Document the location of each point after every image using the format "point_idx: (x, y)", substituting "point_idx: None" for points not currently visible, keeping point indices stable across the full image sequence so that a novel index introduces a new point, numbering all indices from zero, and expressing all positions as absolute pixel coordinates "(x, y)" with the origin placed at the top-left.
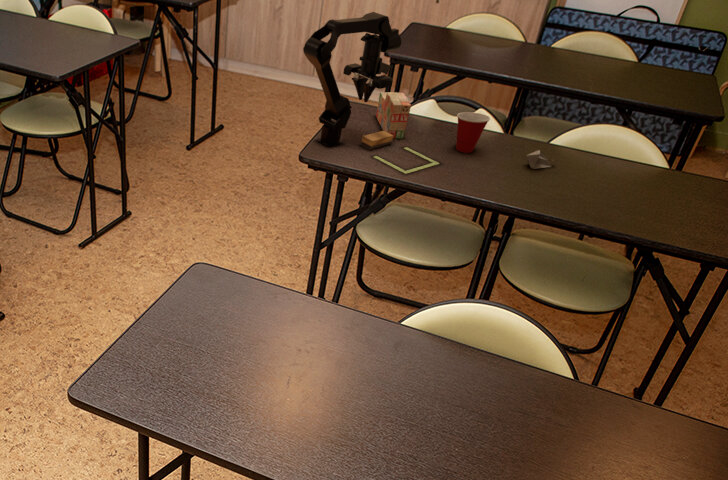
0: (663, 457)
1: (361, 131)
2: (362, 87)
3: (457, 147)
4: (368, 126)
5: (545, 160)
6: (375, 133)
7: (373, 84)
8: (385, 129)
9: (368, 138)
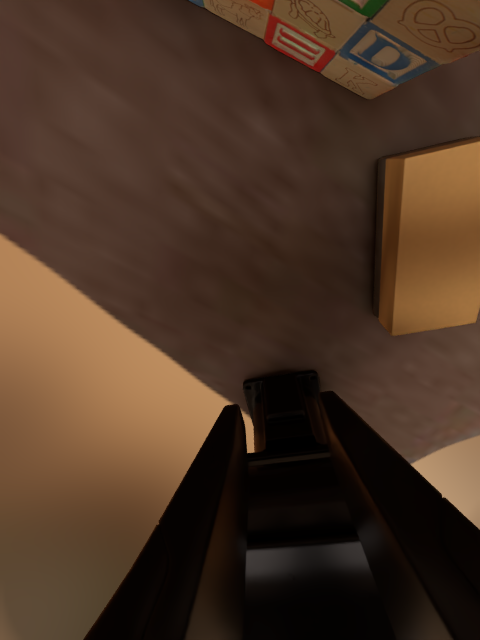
0: None
1: (214, 210)
2: (216, 609)
3: None
4: (146, 109)
5: None
6: (410, 249)
7: None
8: (308, 49)
9: (437, 325)
